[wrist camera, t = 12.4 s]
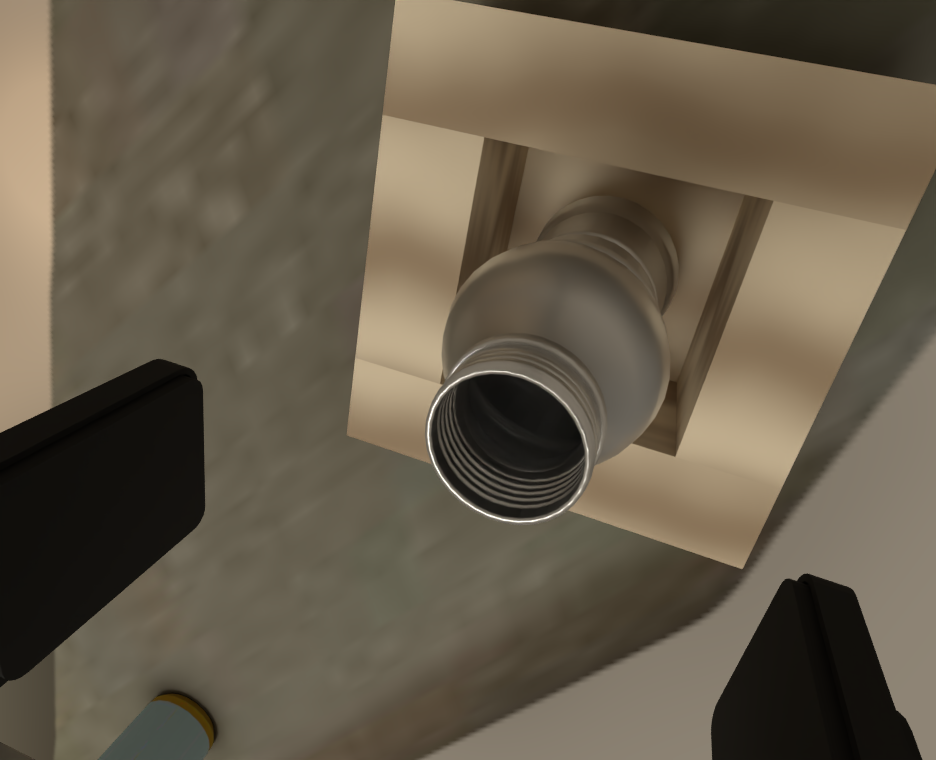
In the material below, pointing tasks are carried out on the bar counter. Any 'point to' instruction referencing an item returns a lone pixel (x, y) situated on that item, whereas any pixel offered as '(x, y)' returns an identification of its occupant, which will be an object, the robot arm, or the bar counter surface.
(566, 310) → the plastic bottle
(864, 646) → the robot arm
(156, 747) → the bottle
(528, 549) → the bar counter surface
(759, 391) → the well block
